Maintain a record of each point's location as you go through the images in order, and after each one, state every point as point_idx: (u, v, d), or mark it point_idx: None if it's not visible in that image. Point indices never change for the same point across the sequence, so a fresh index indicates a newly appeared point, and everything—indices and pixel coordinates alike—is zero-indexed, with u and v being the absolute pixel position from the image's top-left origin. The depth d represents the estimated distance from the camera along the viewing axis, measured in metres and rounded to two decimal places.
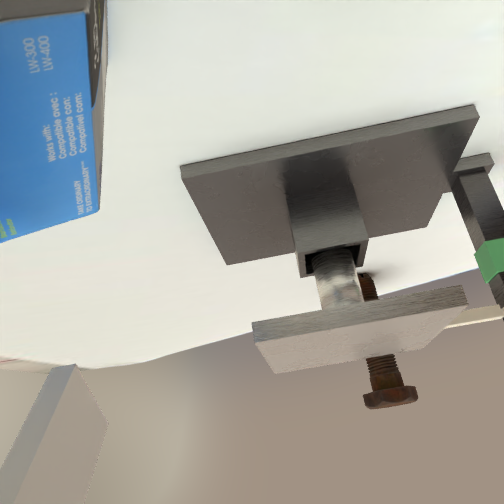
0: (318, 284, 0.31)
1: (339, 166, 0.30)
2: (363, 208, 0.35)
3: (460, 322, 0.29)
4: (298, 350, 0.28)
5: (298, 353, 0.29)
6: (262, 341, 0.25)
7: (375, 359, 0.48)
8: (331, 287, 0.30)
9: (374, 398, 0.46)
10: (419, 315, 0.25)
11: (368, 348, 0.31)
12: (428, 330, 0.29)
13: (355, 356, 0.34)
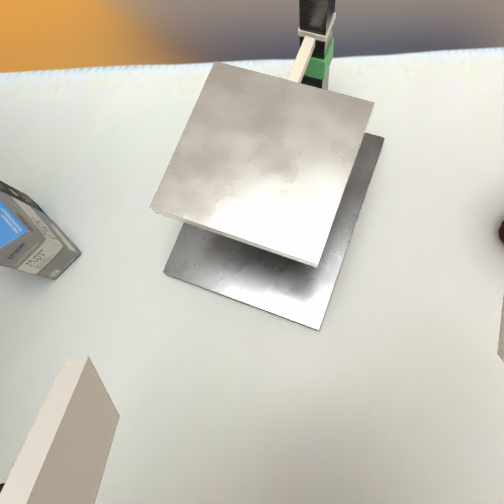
0: None
1: None
2: None
3: (292, 67, 0.32)
4: (218, 194, 0.29)
5: (232, 199, 0.29)
6: (153, 201, 0.30)
7: None
8: None
9: None
10: (208, 92, 0.32)
11: (293, 146, 0.30)
12: (275, 90, 0.31)
13: (324, 166, 0.29)
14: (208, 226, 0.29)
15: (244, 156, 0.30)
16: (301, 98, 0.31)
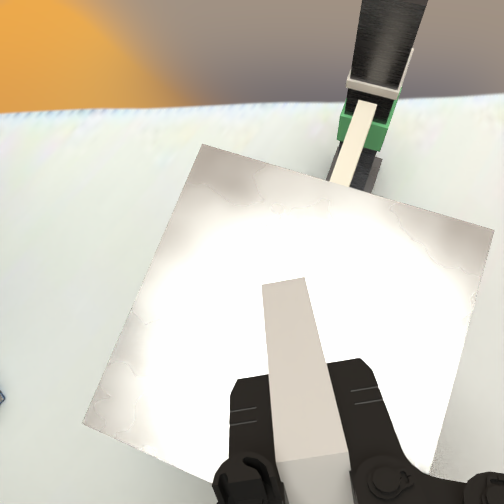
0: None
1: None
2: None
3: (338, 157, 0.18)
4: (208, 405, 0.16)
5: None
6: (88, 412, 0.16)
7: None
8: None
9: None
10: (190, 202, 0.18)
11: (346, 312, 0.16)
12: (309, 201, 0.17)
13: (407, 356, 0.15)
14: (188, 470, 0.15)
15: (255, 329, 0.16)
16: (357, 218, 0.17)
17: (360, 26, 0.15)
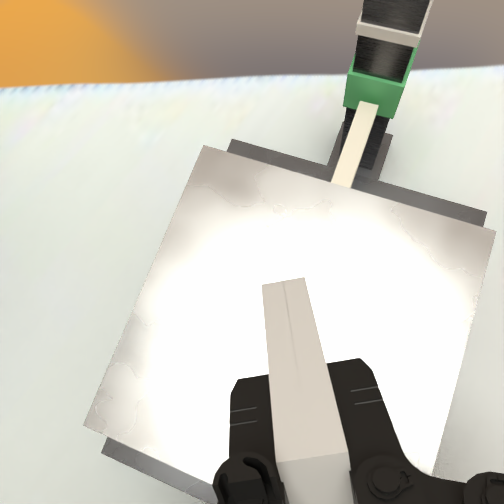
0: None
1: None
2: None
3: (339, 158, 0.18)
4: (209, 407, 0.16)
5: None
6: (89, 414, 0.16)
7: None
8: None
9: None
10: (192, 203, 0.18)
11: (347, 313, 0.16)
12: (310, 202, 0.17)
13: (409, 357, 0.15)
14: (190, 472, 0.15)
15: (256, 330, 0.16)
16: (358, 219, 0.17)
17: None
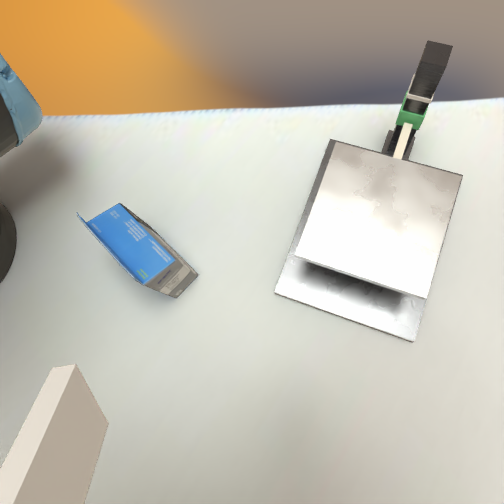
0: None
1: None
2: None
3: (396, 147, 0.42)
4: (347, 245, 0.40)
5: (358, 249, 0.40)
6: (297, 250, 0.40)
7: None
8: None
9: None
10: (333, 166, 0.42)
11: (402, 209, 0.40)
12: (384, 165, 0.41)
13: (427, 224, 0.39)
14: (341, 269, 0.39)
15: (365, 216, 0.40)
16: (405, 172, 0.41)
17: (417, 72, 0.36)
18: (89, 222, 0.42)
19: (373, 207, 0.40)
